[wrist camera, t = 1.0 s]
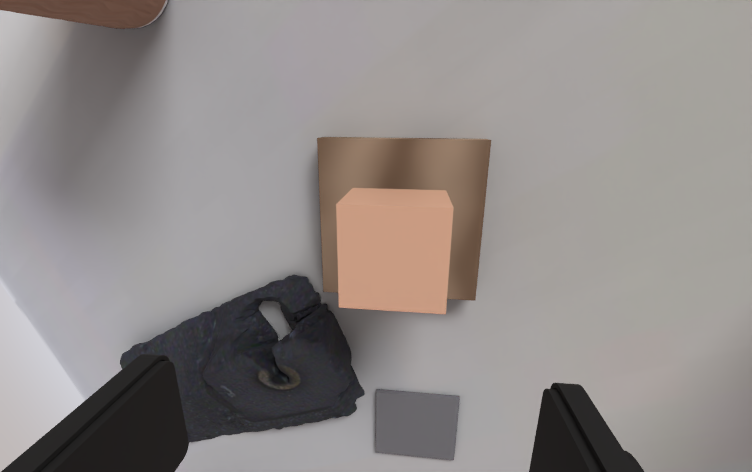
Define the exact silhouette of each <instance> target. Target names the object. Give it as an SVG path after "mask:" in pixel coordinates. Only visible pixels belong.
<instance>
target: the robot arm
mask: <svg viewBox="0 0 752 472" xmlns="http://www.w3.org/2000/svg"><path fill="white" fill-rule="evenodd" d="M188 445H189V440H188V435H187V430H186V424H185V419H184V414H183V409H182V403H181V398H180V393H179V387H178V382H177V377H176V371H175V366H174V364H173V363H172V362H170V360H169V358H168V357H167V356H165V355H154V354H141V355H140V356H138V357H137V358H135V359H134V360H133V361H132V362H131V363H130V364H128V365H127V366H126V367H125V368H124V369H122V370H121V371H120V372H119V373H118V374H116V375H115V376H114V377H113V378H112V379H111V380H109V381H108V382H107V383H106V384H105V385H103V386H102V387H101V388H100V389H99V390H98V391H96V392H95V393H94V394H93V395H92V396H90V397H89V398H88V399H87V400H86V401H84V402H83V403H82V404H81V405H80V406H79V407H77V408H76V409H75V410H74V411H73V412H71V413H70V414H69V415H68V416H67V417H66V418H64V419H63V420H62V421H61V422H60V423H58V424H57V425H56V426H55V427H54V428H52V429H51V430H50V431H49V432H48V433H46V434H45V435H44V436H43V437H42V438H41V439H39V440H38V441H37V442H36V443H35V444H33V445H32V446H31V447H30V448H29V449H28V450H26V451H25V452H24V453H23V454H22V455H20V456H19V457H18V458H17V459H16V460H14V461H13V462H12V463H11V464H10V465H9V466H8V467H6V468H5V469H4V470H3V471H2V472H175V470H176V469H177V467H178V466H179V464H180V463H181V461H182V460H183V459H184V457H185V455H186V453H187V450H188ZM529 472H644V471H643V469H642V468H641V466H640V465H639V463H638V462H637V461H636V459H635V458H634V457H633V456H632V455H631V454H630V453H628V452H627V451H624V450H623V449H622V447H621V446H620V444H619V442H618V441H617V439H616V438H615V436H614V435H613V433H612V432H611V430H610V429H609V427H608V425H607V424H606V422H605V421H604V419H603V418H602V416H601V415H600V413H599V412H598V410H597V408H596V407H595V405H594V404H593V402H592V401H591V399H590V398H589V396H588V394H587V393H586V391H585V390H584V388H583V387H582V386H581V385H578V384H564V383H553V384H552V386H551V389H545V390H544V392H543V397H542V402H541V408H540V414H539V419H538V425H537V430H536V436H535V442H534V447H533V453H532V459H531V464H530V470H529Z"/></svg>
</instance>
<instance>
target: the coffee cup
mask: <svg viewBox="0 0 752 472" xmlns="http://www.w3.org/2000/svg"><path fill="white" fill-rule="evenodd" d="M167 2H168V0H0V10H5V11H11V12H16V13H22V14H29V15H35V16H42V17H48V18H54V19H62V20H67V21H73V22H79V23H85V24H91V25H98V26H105V27H110V28H120V29H125V28H141V27H144V26H147V25H149V24H151V23H152V22H154V21H155V20H156V19H157V18H158V17H159V16H160V15H161V14H162V12H163V10H164V8H165V7H166V5H167Z"/></svg>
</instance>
